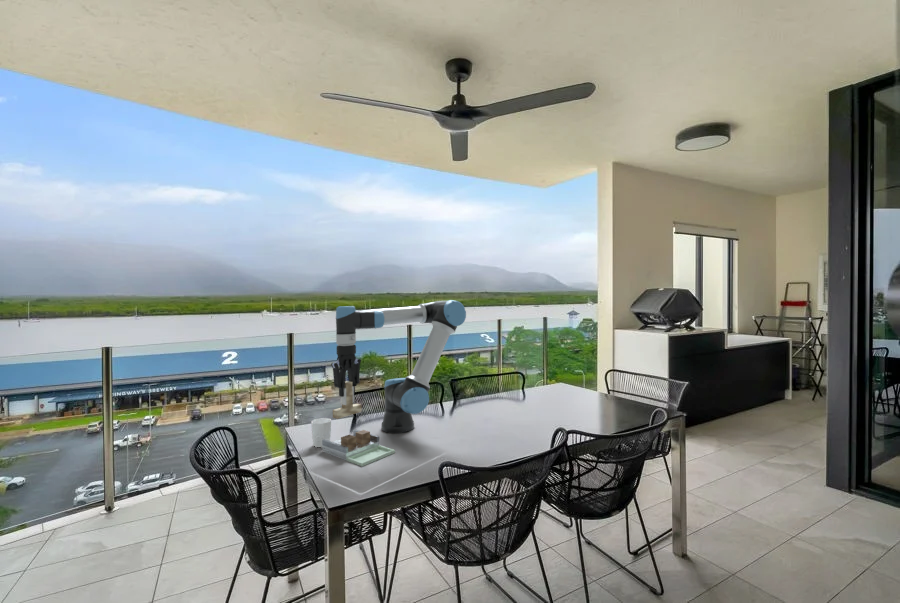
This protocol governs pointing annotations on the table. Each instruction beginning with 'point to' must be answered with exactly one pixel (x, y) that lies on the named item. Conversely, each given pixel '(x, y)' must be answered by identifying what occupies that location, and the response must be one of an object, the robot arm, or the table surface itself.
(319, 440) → the white cup
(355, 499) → the table surface
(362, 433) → the walnut cube
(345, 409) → the light wood block tower
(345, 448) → the bed
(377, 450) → the tray
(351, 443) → the walnut cube
